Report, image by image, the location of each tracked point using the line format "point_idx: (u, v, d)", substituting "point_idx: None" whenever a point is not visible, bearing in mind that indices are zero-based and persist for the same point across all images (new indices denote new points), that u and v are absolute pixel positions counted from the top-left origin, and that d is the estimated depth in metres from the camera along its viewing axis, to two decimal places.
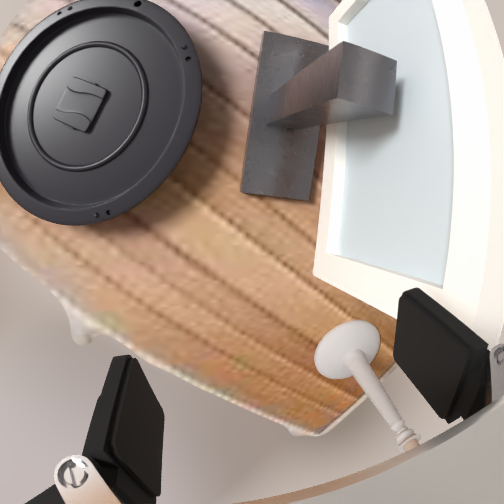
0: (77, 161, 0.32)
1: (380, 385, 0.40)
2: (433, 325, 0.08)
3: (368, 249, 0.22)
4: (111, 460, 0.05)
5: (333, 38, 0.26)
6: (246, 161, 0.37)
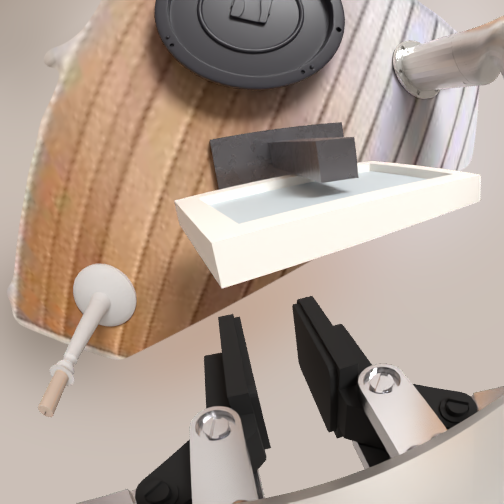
0: (205, 14, 0.36)
1: (92, 329, 0.42)
2: (310, 336, 0.09)
3: (220, 212, 0.30)
4: (251, 405, 0.07)
5: None
6: (235, 136, 0.45)
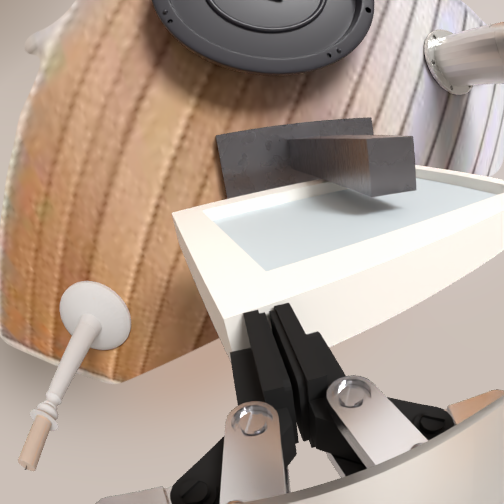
0: None
1: (80, 361, 0.34)
2: (282, 344, 0.08)
3: (232, 235, 0.22)
4: (285, 398, 0.07)
5: None
6: (246, 131, 0.37)
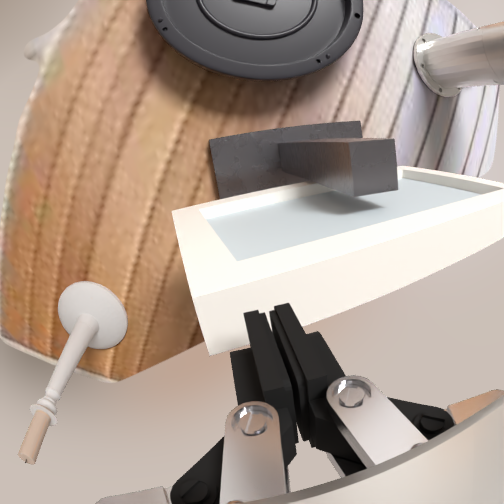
0: None
1: (78, 358, 0.35)
2: (282, 345, 0.08)
3: (222, 231, 0.24)
4: (285, 399, 0.07)
5: None
6: (238, 135, 0.39)
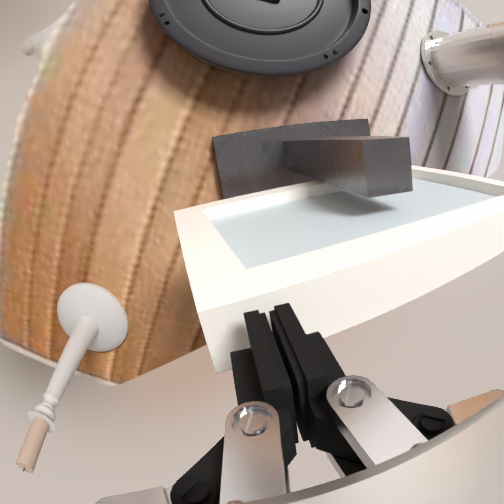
0: None
1: (77, 363, 0.34)
2: (282, 344, 0.08)
3: (228, 233, 0.23)
4: (285, 398, 0.07)
5: None
6: (243, 132, 0.37)
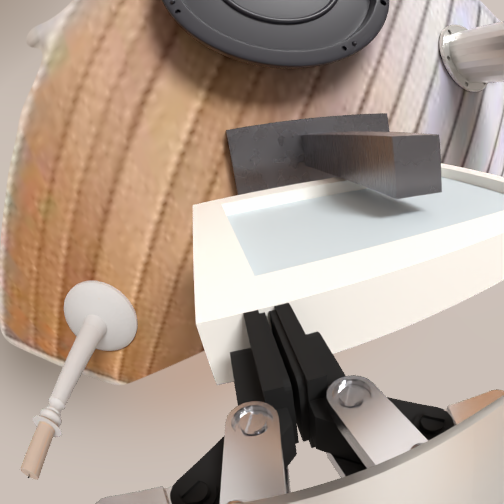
0: None
1: (84, 364, 0.33)
2: (282, 345, 0.08)
3: (245, 231, 0.22)
4: (285, 399, 0.07)
5: None
6: (258, 126, 0.35)
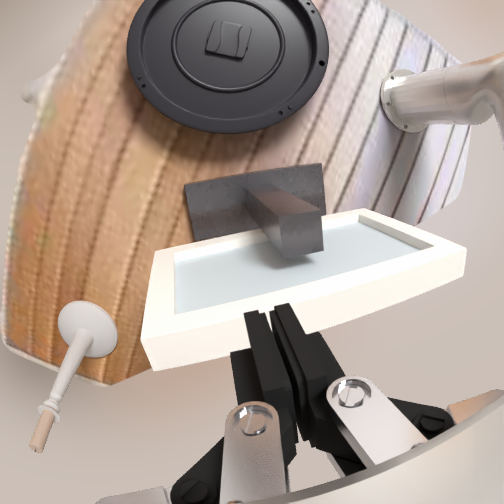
0: (180, 49, 0.37)
1: (76, 367, 0.41)
2: (282, 344, 0.08)
3: (185, 277, 0.32)
4: (285, 399, 0.07)
5: (343, 214, 0.41)
6: (209, 181, 0.46)
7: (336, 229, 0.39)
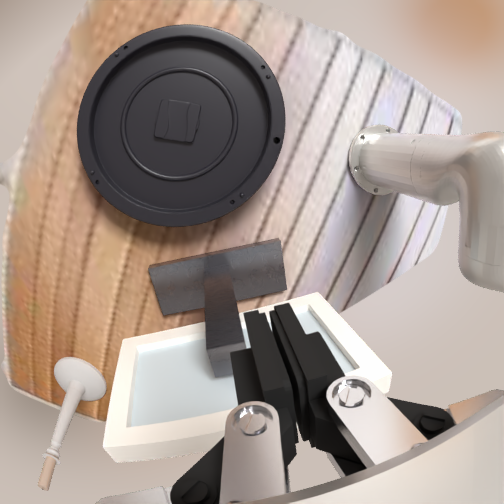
0: (129, 135, 0.39)
1: (71, 417, 0.45)
2: (282, 344, 0.08)
3: (143, 376, 0.35)
4: (285, 398, 0.07)
5: (294, 303, 0.44)
6: (171, 264, 0.49)
7: None
